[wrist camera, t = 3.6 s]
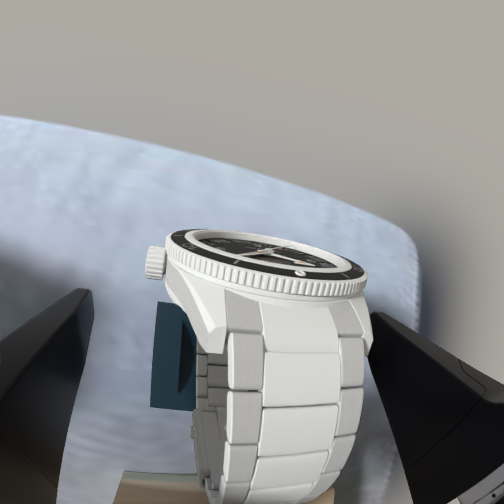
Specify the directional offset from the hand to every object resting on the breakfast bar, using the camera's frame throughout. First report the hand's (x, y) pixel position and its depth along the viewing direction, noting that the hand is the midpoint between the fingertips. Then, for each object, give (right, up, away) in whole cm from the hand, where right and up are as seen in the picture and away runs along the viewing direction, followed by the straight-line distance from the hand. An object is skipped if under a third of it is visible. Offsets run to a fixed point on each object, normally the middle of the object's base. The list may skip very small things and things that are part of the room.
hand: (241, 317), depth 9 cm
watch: (-2, -3, +6) cm, 7 cm away
